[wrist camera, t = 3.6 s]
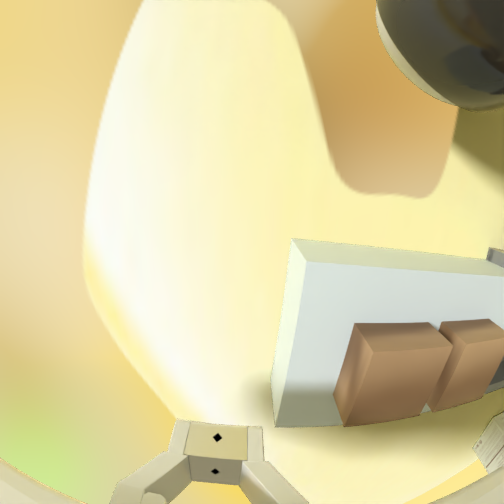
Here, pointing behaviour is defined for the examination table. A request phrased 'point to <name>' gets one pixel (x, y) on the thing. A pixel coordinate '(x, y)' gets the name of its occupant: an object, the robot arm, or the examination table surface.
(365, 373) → the tile
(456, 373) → the tile
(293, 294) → the pale grey flat block
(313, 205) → the examination table surface
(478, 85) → the pump dispenser
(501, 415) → the supplement box
